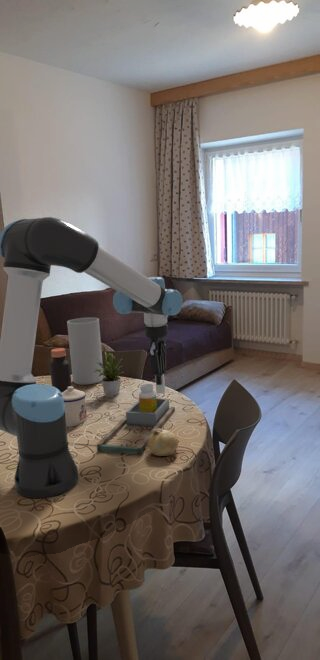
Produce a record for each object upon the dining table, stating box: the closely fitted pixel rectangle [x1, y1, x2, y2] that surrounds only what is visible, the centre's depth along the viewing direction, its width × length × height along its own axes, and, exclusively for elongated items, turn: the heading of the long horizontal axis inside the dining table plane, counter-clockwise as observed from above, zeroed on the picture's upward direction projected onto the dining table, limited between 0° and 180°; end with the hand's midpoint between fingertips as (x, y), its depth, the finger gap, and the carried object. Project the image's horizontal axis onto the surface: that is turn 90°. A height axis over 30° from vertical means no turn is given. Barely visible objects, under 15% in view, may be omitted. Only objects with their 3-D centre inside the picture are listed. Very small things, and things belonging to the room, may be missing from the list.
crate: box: [125, 397, 171, 428], centre depth 159 cm, size 14×10×4 cm
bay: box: [96, 406, 176, 455], centre depth 152 cm, size 32×13×2 cm, turn 162°
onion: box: [147, 428, 179, 457], centre depth 135 cm, size 8×8×7 cm
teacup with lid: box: [62, 385, 88, 427], centre depth 162 cm, size 12×9×12 cm
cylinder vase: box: [66, 317, 105, 386], centre depth 204 cm, size 12×12×25 cm
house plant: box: [94, 351, 125, 398], centre depth 186 cm, size 14×14×16 cm
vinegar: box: [49, 347, 73, 393], centre depth 177 cm, size 7×7×20 cm
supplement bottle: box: [138, 383, 157, 413], centre depth 159 cm, size 5×5×10 cm
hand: (160, 392), depth 171 cm, fingers closed
